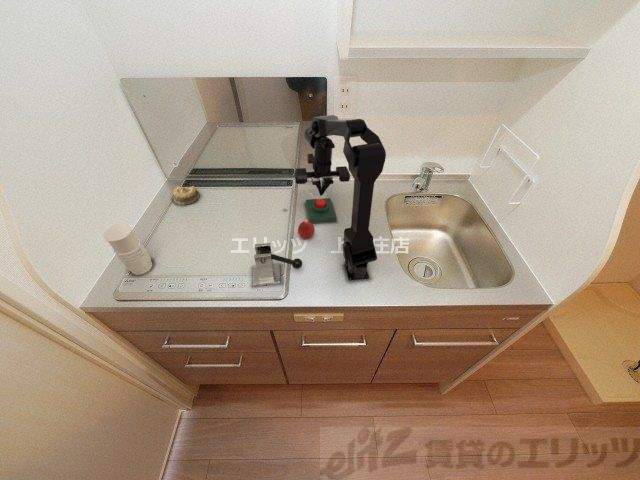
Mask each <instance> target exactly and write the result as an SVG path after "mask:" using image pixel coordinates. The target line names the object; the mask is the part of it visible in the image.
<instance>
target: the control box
mask: <svg viewBox="0 0 640 480" xmlns="http://www.w3.org/2000/svg"><path fill="white" fill-rule="evenodd" d="M318 199H319V198H311V199H305V207H306V212H307V218H308V219H307V220H308V221H309V222H311V223H312V224H313V225H314V224H324V223H325V224H327V223H337V216H336V213H335V209H334V206H333V202H332V200H331V197H326V198H325V197H324V198H323V199H324V200H325V202H326V203H325V207H324V208H318V207H316V200H318Z"/></svg>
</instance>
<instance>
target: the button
mask: <svg viewBox="0 0 640 480" xmlns="http://www.w3.org/2000/svg"><path fill="white" fill-rule="evenodd" d="M317 199H318V200H316V207H318V208H324V207H325V203H326V202H325V200H324V198H317Z"/></svg>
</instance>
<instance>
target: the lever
mask: <svg viewBox="0 0 640 480" xmlns="http://www.w3.org/2000/svg"><path fill="white" fill-rule="evenodd" d="M269 253H270V251H269V250H267V249H264V248H261V247H260V249H259V250H258V252H257V255H258V254H269ZM271 259H273V261H277V262H281V263H285V264H288V265H290V266H292V267H293V269H295V270H299V269H301V268H302V267H303V263H304V262H303V260H302V259H301V258H298V257H296V258H294V259H291V258H287V257H284V256H280V255H277V254H273V253H272V254H271Z"/></svg>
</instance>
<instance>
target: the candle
mask: <svg viewBox="0 0 640 480" xmlns="http://www.w3.org/2000/svg"><path fill="white" fill-rule="evenodd" d="M102 238H103V239H104V241H106V242H107V243H108V244H109V246H110V247H111V248H112V249H113V253H114V254H115V255H116V257H117V258H118V260H119V261H120V262H121V263H122V264H123V265H124V267H125V268H126V269H127V271H128V272H131V274H133V275H137V276H139V275H143V274H146V273H148V272H149V271H150V270H151V269H152V267H153V262H152V258H151V256H150V254H149V253H148V251H147V249H146V248H145V246H144V244H143V243H142V240H140V239H139V238H138V237H137V235H136V234H135V232H134V231H133V227H132V226H131V225H130V224H128V223H119V224H114V225H112V226H110V227H109V228H107V229H106V230H105V231H104V232H103V234H102Z"/></svg>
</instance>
